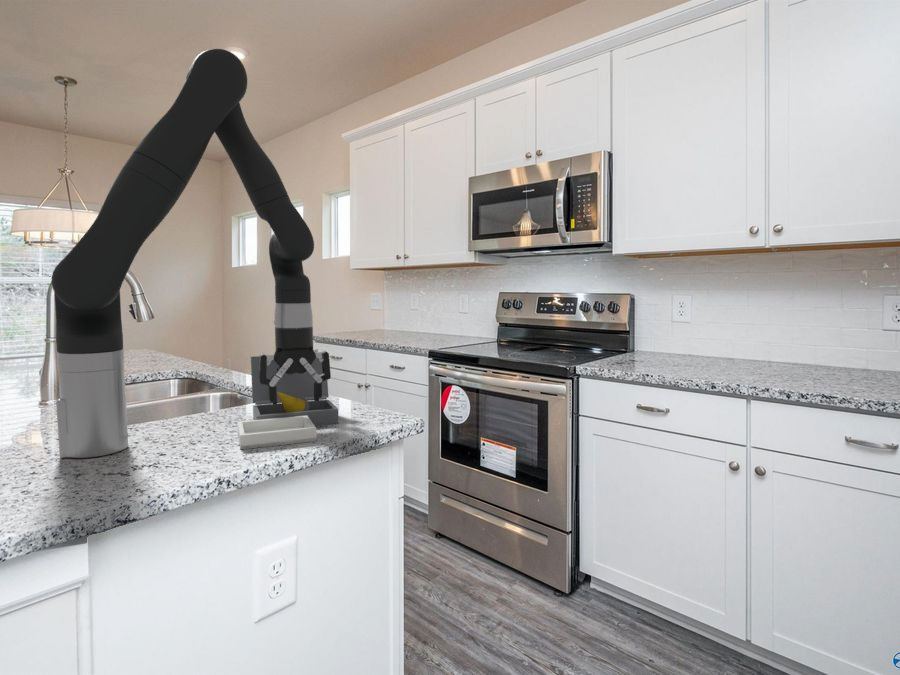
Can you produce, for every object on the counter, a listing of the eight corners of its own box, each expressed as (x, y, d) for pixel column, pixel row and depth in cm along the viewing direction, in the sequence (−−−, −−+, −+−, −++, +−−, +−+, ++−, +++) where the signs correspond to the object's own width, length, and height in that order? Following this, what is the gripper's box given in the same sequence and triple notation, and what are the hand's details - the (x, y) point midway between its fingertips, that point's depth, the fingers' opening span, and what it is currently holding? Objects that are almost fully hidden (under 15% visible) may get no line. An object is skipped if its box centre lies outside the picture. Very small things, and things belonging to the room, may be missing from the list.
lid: (250, 356, 112) (250, 357, 112) (253, 405, 110) (252, 405, 111) (326, 353, 118) (325, 353, 119) (328, 398, 117) (328, 399, 118)
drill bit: (316, 423, 110) (286, 397, 104) (295, 432, 111) (264, 406, 105) (318, 404, 114) (289, 377, 108) (298, 412, 115) (268, 387, 109)
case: (256, 431, 102) (256, 416, 102) (253, 419, 111) (252, 405, 111) (338, 423, 108) (338, 409, 108) (328, 412, 117) (328, 399, 117)
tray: (240, 449, 90) (240, 435, 90) (237, 434, 99) (237, 421, 99) (316, 441, 96) (316, 427, 96) (307, 427, 105) (307, 415, 105)
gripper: (258, 327, 101) (261, 409, 103) (332, 325, 107) (333, 402, 109) (256, 324, 108) (258, 401, 110) (325, 322, 114) (326, 395, 116)
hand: (296, 401), depth 109 cm, fingers open, 8 cm apart
